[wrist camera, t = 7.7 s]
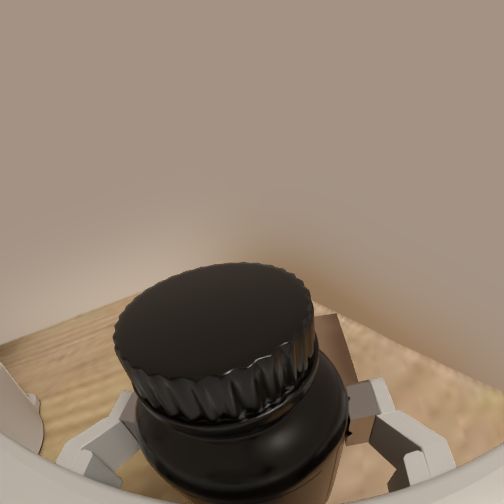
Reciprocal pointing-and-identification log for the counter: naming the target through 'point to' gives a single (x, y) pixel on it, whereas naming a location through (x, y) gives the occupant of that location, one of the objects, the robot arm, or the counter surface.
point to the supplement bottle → (234, 386)
